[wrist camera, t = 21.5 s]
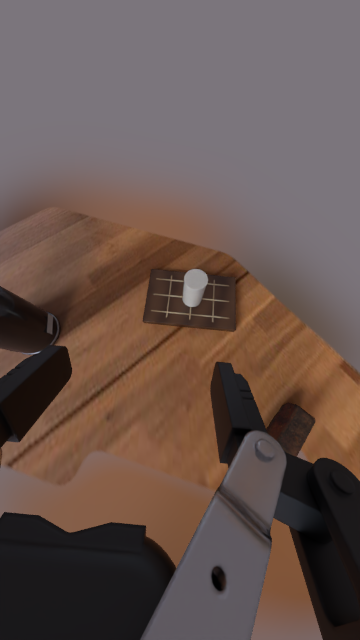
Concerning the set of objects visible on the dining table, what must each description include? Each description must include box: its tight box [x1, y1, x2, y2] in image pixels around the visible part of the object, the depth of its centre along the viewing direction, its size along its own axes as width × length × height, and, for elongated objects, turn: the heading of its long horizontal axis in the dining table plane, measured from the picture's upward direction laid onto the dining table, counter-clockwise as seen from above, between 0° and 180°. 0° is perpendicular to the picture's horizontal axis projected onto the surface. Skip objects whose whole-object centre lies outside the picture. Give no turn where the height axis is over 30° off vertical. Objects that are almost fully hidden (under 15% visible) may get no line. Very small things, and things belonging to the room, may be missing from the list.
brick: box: [267, 402, 315, 457], centre depth 32 cm, size 11×4×5 cm, turn 139°
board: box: [143, 269, 236, 332], centre depth 41 cm, size 20×13×2 cm, turn 85°
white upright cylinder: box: [182, 269, 208, 307], centre depth 37 cm, size 4×4×8 cm
